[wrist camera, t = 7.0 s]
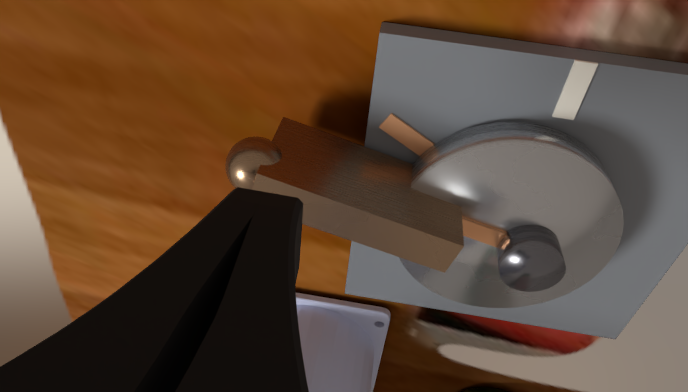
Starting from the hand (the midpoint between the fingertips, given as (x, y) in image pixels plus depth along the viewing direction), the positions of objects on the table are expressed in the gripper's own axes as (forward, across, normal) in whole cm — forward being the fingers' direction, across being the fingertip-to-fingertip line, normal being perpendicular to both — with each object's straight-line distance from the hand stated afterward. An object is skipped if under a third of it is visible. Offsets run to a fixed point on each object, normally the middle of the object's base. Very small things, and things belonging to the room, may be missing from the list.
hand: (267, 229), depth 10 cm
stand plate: (+9, -8, +5) cm, 13 cm away
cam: (+8, -4, +4) cm, 10 cm away
